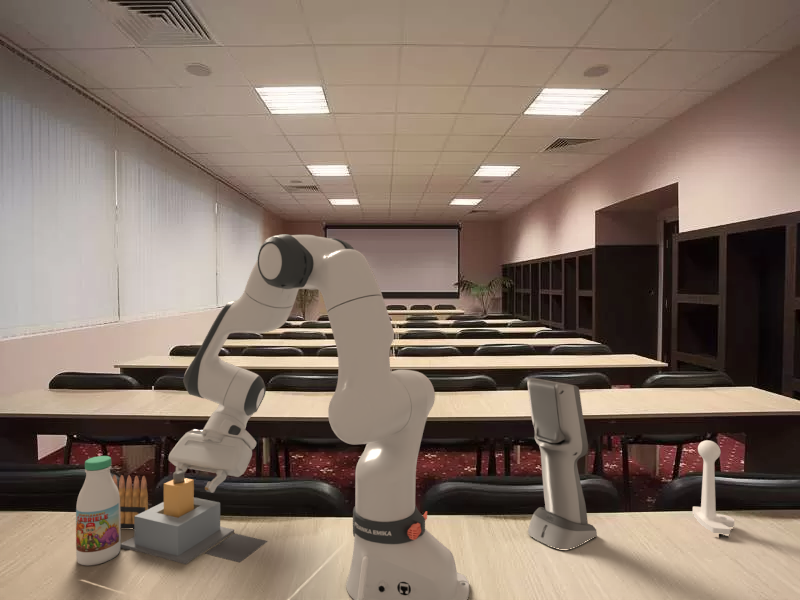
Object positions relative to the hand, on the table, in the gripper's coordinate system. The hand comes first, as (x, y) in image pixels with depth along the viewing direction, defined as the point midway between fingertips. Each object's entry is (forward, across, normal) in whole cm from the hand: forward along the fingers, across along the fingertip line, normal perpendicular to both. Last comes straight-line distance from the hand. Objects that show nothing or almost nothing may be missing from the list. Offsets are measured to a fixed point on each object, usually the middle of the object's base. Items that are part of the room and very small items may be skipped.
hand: (192, 488), depth 110 cm
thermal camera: (-14, +77, +28) cm, 83 cm away
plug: (+9, 0, +4) cm, 10 cm away
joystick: (-26, +110, +40) cm, 120 cm away
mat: (+8, +14, +6) cm, 17 cm away
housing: (+10, 0, +4) cm, 11 cm away
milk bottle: (+18, -10, -3) cm, 21 cm away
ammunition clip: (+10, -16, +5) cm, 19 cm away
